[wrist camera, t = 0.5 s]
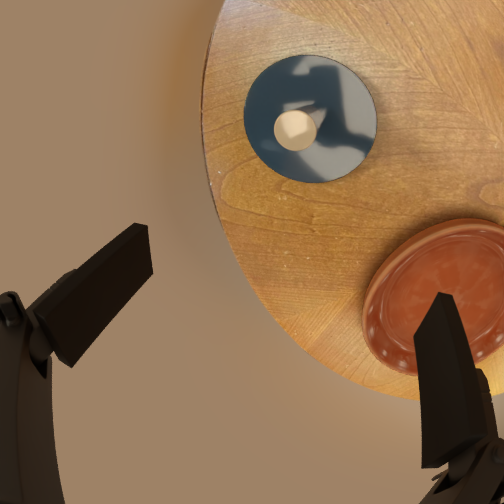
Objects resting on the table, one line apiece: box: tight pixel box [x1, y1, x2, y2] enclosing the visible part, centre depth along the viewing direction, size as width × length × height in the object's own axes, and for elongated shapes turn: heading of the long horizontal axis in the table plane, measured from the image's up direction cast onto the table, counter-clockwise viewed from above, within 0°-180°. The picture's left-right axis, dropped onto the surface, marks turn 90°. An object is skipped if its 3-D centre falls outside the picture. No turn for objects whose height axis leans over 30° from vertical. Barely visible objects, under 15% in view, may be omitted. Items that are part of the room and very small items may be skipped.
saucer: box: [362, 218, 504, 376], centre depth 28 cm, size 23×23×4 cm
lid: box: [244, 55, 377, 183], centre depth 20 cm, size 12×12×10 cm
